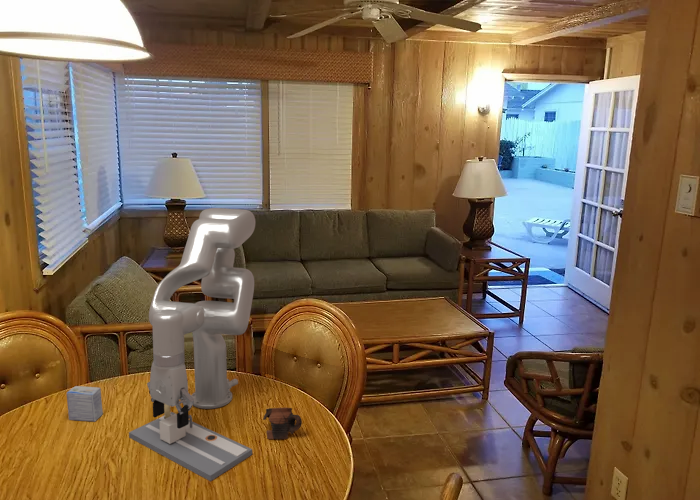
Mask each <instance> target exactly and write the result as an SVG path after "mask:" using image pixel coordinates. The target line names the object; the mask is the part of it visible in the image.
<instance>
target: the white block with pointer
mask: <svg viewBox="0 0 700 500" xmlns="http://www.w3.org/2000/svg"><path fill="white" fill-rule="evenodd" d="M176 414H177V413H175V414H174V415H172V416H170V417H168V418H166V419H164V420H161V421H159V424H160V439H161V440H163V441H165V442H167V443H169V444H171V443H173V442H175V441H177V440H178V439H180V438H182V437H184V436H186V432H185V426H184V427H182V428H180V429H179V428H177V415H176ZM189 420H190V428H192V422H193V417H192V415H191V414H189Z"/></svg>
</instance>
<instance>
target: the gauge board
mask: <svg viewBox="0 0 700 500" xmlns="http://www.w3.org/2000/svg"><path fill="white" fill-rule="evenodd" d="M174 414H176V415H177V414H178V413H175V412H173V411H171V406H169V405H166V404H164V414H163V415H161V417H160V416H159V418H157V419H154V420H152V421H150V422H147V423H146V424H144V425H141V426H139V427H137V428H135V429H133V430H131V431H129V432H128V438H129V439H131V440H133V441H135V442H137V443H139V444H140V445H142V446H144V447H146V448H148V449H150V450H152V451H153V452H155V453H157V454H159V455H160V456H163V457H165V458H167V459H168V460H171V462H173V463H176V464H178V465H179V466H182V467H183V468H184V469H187V470H188V471H191V472H192V473H195V474H196V475H198V476H200V477H202V478H204V479H206V480H208V481H209V482H212V481H213V480H215V479H216V478H218V477H220V476H221V475H223V474H225V473H226V472H227V471H230V469H232V468H233V467H236V465H239V464H240V463H242V462H243V461H245V460H246V459H248V458H249V457H250V456H252V455H253V449H252V448H250V447H248V446H246V445H244V444H241V443H239V442H238V441H235V440H233V439H231V438H229V437H226V436H225V435H222V434H220V433H218V432H216V431H213V430H212V429H209V428H207V427H205V426H203V425H201V424H199V423H197V422H194V421H192V428H190V419H189V424H188V425H186V426H185V432H186V436H184V437H182V438H180V439H178V440H177V441H175V442H173V443H171V444H169V443H167V442H165V441H163V440H161V439H160V424H159V421H161V420H164V419H166V418H168V417H170V416H172V415H174Z"/></svg>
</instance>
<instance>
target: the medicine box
mask: <svg viewBox="0 0 700 500" xmlns="http://www.w3.org/2000/svg"><path fill="white" fill-rule="evenodd" d="M66 400H67V411H68V413H67V415H68V420H69V421H81V422H96V421H98V420H99V418H101V417H102V415H103V414H104V411H103V404H102V403H103V401H102V389H101V387H96V386H84V385H83V386H82V385H81V386H80V385H75V386H74V387H72V388H70V389H69V390H68V391H67V392H66Z"/></svg>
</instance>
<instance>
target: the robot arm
mask: <svg viewBox="0 0 700 500" xmlns="http://www.w3.org/2000/svg"><path fill="white" fill-rule="evenodd" d="M255 217H256V216H255V215H254V213H253V212H252V211H250V210H249V209H238V208H222V207H211V208H206V209H203V210H202V211H201V212H200V213H199V217H198V219H196V220H195V221H193V223H192V224H191V227H190V230H189V234H188V237H187V241H186V244H185V247H184V249H183V254H182V256H181V260H180V264H179V265H178V266H176V267H175V268H174V269H172V270H171V271H170V272H169V273H167V275H166V276H164V278H163V279H162V280H161V281H160V282H159V283H158V285H157V287H156V289H155V290H154V293H153V296H152V300H151V303H150V307H149V312H148V320H149V324H150V326H152V348H153V350H152V352H153V354H152V357H153V361H152V363H151V368H150V374H149V375H150V378H149V381H148V382H147V383H146V384H147V388H148V393H149V396H150V397H151V398H150V401H151V402H152V417H153V418H157V417H160V416H163V415H164V404H166V405H169V406H170V407H171V408H172V407H175V408H176V410H177V412H178V413H176V414H177V428H179V429H180V428H182V427H184V426H186V425H188V424H189V420H190V419H189V415H190V414H189V411H191V409H192V408H193V407H195V408H198V409H202V410H203V409H204V410H205V409H206V410H208V409H210V410H211V409H212V410H213V409H217V408H222V407H224V406H226V405H227V404H228V405H229V403H230V402H231V401H232V400H233V392H232V391H231V389H232V387H234V386H236V385H238V384H239V380H238V378H233V379H231V380H230V379H229V378H228V373H227V370H228V369H227V367H228V366H227V344H226V341H225V338H224V337H223V335H228V336H240V335H243V334H244V333H245V332H246V331H247V329H248V325H249V321H250V316H251V310H252V303H253V299H254V292H255V291H254V290H255V278H254V274H253V273H252V271H251V270H249V269H247V268H244V267H234V263H235V257H236V252H235V249H237V248H239V247H240V246H242V245H243V243H245V242H246V241H247V240H248V239H249V238H250V237H251V236H252V234H253V233H254V231H255V228H256V218H255ZM199 280H201V284H200V287H201V288H200V289H201V292H202V294H203V295H205V296H206V297H209V298H218V299H229V300H231V299H232V300H233V302H230V301H229V302H228V301H220V300H219V301H218V300H201V301H197V302H195V303H192V302H183V301H182V302H181V301H170V300H171V298H172V296H173V294H174V293H175V292H176V291H177V290H179V289H180V288H182V287H184V286H185V285H188V284H190V283H193V282H196V281H199ZM190 333H191V334H192V339H193V340H192V341H193V360H194V361H193V363H194V389H195V391H194V392H193V393H192V394H191V393H189V386H188V385H189V383H188V373H187V369H186V368H187V367H186V365H185V335H187V334H190ZM181 404H182V405H183V407H182V406H181Z"/></svg>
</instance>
